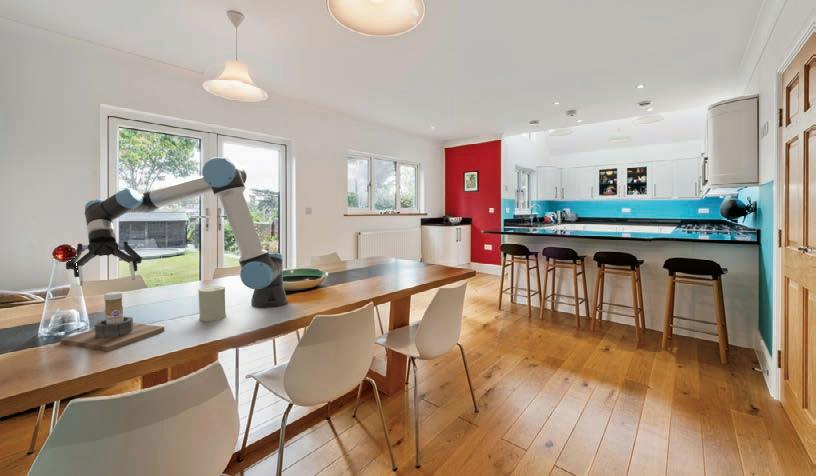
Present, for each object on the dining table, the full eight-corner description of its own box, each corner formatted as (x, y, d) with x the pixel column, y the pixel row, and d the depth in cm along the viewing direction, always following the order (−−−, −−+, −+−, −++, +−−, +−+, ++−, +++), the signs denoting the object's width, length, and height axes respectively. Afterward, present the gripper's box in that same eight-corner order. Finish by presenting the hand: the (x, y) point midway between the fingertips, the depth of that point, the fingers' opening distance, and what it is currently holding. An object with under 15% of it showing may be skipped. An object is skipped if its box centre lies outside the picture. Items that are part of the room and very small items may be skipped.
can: (214, 322, 130) (213, 291, 129) (193, 320, 132) (192, 289, 131) (231, 314, 139) (230, 285, 138) (211, 313, 141) (210, 284, 140)
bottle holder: (164, 331, 120) (163, 315, 119) (107, 351, 103) (106, 333, 102) (121, 325, 125) (120, 310, 124) (60, 344, 108) (59, 326, 107)
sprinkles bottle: (111, 335, 111) (108, 295, 110) (103, 333, 113) (100, 293, 111) (127, 331, 115) (125, 292, 114) (119, 329, 117) (117, 290, 116)
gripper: (142, 239, 139) (151, 281, 129) (54, 243, 121) (57, 292, 112) (144, 226, 134) (154, 269, 125) (53, 229, 117) (56, 279, 108)
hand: (108, 280), depth 118 cm, fingers open, 13 cm apart
